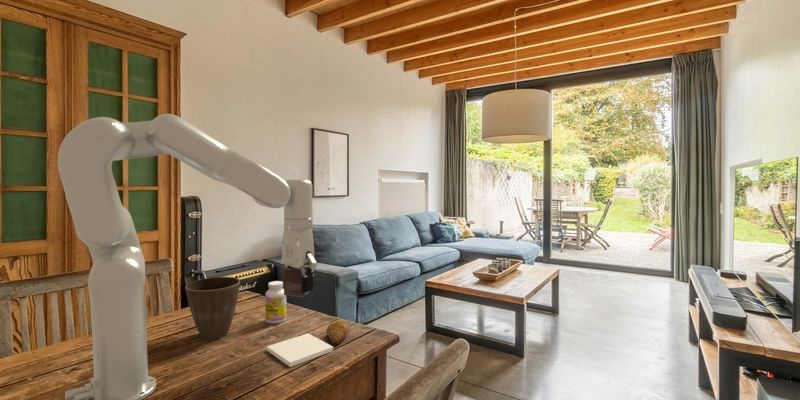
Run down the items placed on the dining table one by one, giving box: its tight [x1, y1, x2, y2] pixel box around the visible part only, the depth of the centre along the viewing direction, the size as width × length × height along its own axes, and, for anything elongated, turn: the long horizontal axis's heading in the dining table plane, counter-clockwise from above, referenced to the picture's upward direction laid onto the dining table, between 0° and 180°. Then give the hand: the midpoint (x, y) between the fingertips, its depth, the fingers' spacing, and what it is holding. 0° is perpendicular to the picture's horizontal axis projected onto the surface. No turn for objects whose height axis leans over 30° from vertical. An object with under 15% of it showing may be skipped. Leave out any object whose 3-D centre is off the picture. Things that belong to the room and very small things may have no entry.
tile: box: [266, 332, 334, 368], centre depth 105 cm, size 13×13×1 cm
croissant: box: [325, 320, 350, 346], centre depth 115 cm, size 14×7×5 cm, turn 4°
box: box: [283, 266, 314, 297], centre depth 104 cm, size 6×6×7 cm
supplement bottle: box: [264, 280, 287, 324], centre depth 128 cm, size 7×7×13 cm
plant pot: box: [184, 276, 241, 340], centre depth 116 cm, size 15×15×16 cm
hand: (298, 287), depth 104 cm, fingers closed on box, 8 cm apart
